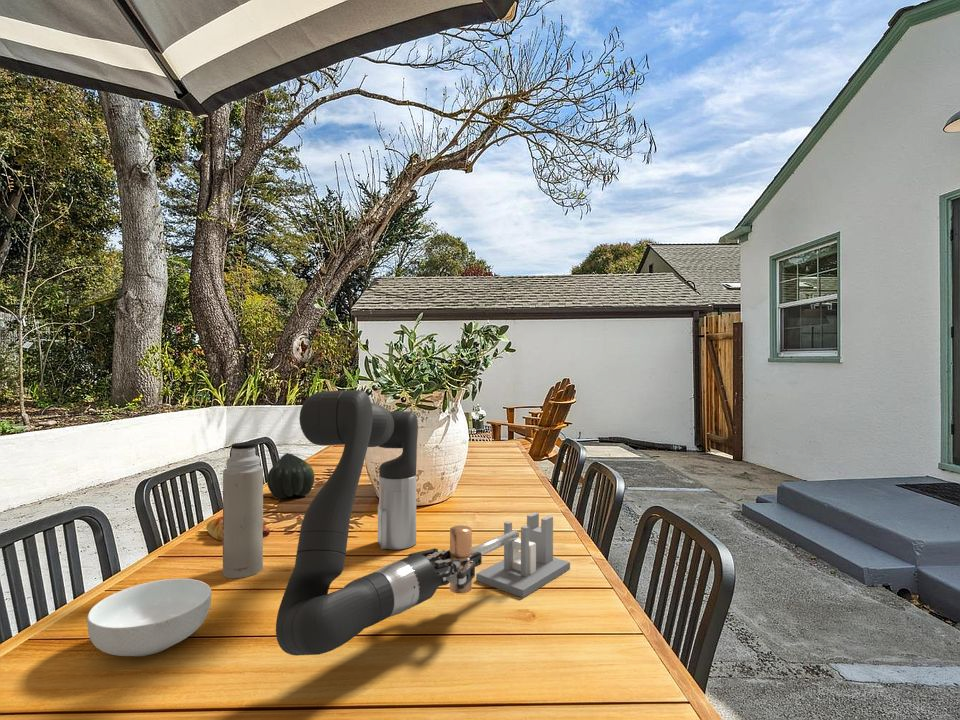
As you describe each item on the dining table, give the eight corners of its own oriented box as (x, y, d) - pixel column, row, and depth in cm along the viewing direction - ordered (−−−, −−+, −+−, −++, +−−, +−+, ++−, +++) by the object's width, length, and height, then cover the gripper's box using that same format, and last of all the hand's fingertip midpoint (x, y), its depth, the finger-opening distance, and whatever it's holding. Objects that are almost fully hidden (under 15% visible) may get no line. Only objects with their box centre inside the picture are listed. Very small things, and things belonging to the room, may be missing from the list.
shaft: (461, 595, 90) (461, 534, 90) (445, 589, 93) (445, 529, 93) (522, 563, 105) (522, 510, 105) (507, 558, 107) (507, 506, 107)
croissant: (198, 548, 133) (185, 525, 130) (225, 520, 142) (214, 498, 138) (261, 557, 126) (249, 534, 123) (286, 527, 134) (275, 504, 131)
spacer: (530, 574, 105) (530, 545, 105) (507, 566, 109) (507, 539, 109) (535, 571, 107) (535, 543, 107) (513, 564, 111) (513, 536, 111)
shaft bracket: (523, 598, 98) (523, 538, 98) (476, 580, 106) (476, 525, 106) (570, 568, 112) (570, 517, 112) (525, 555, 119) (525, 506, 120)
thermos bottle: (216, 579, 106) (216, 446, 106) (231, 564, 114) (231, 440, 114) (255, 577, 107) (255, 445, 107) (267, 562, 115) (268, 440, 115)
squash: (310, 485, 164) (312, 446, 173) (261, 489, 161) (266, 449, 170) (315, 505, 174) (316, 467, 184) (269, 509, 171) (273, 470, 181)
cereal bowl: (70, 686, 71) (70, 636, 71) (103, 629, 86) (104, 587, 87) (206, 658, 78) (206, 612, 78) (215, 609, 93) (215, 571, 93)
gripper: (432, 574, 78) (500, 543, 91) (374, 551, 87) (443, 526, 100) (432, 622, 78) (500, 584, 91) (374, 595, 87) (443, 564, 100)
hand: (470, 554), depth 95 cm, fingers closed on shaft, 4 cm apart
